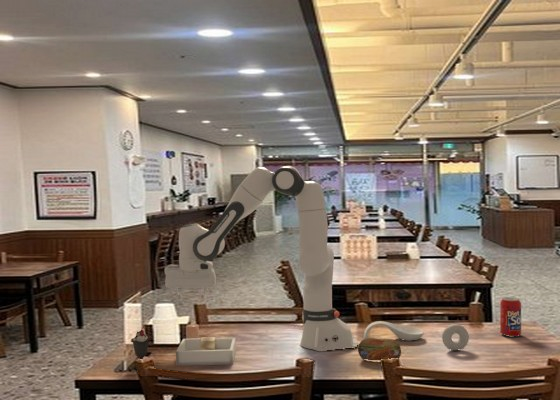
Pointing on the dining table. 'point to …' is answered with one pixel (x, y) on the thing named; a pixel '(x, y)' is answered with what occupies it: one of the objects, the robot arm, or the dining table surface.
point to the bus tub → (206, 352)
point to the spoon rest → (397, 330)
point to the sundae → (140, 344)
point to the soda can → (510, 316)
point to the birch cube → (208, 343)
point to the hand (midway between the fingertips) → (191, 298)
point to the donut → (452, 330)
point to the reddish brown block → (192, 331)
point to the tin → (379, 349)
